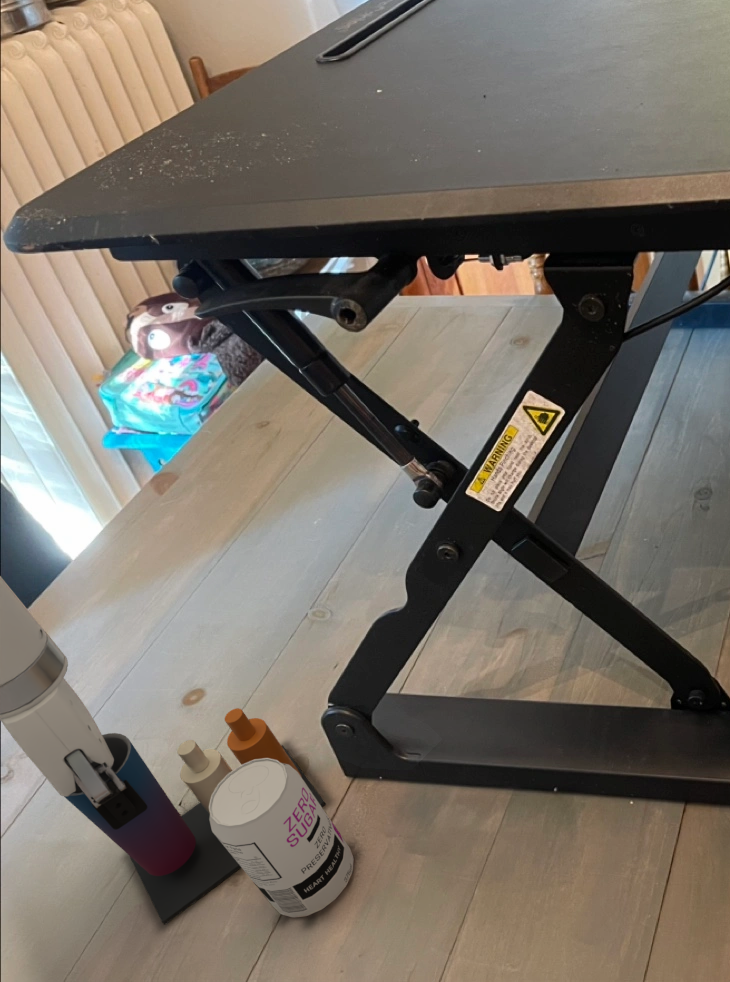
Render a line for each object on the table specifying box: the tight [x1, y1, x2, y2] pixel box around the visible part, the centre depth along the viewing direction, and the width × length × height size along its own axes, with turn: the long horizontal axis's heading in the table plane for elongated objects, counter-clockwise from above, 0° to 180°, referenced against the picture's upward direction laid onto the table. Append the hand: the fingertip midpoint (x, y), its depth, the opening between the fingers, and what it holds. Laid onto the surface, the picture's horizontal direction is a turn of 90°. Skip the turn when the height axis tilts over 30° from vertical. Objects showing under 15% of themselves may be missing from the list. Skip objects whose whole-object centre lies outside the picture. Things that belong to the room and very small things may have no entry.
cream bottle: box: [176, 739, 234, 814], centre depth 107 cm, size 4×4×12 cm
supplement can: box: [209, 758, 355, 918], centre depth 99 cm, size 8×8×15 cm
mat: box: [129, 744, 327, 925], centre depth 110 cm, size 18×11×1 cm, turn 132°
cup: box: [63, 732, 196, 876], centre depth 102 cm, size 7×7×15 cm
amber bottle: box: [224, 707, 302, 778], centre depth 110 cm, size 4×4×12 cm
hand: (119, 795), depth 101 cm, fingers closed on cup, 6 cm apart
